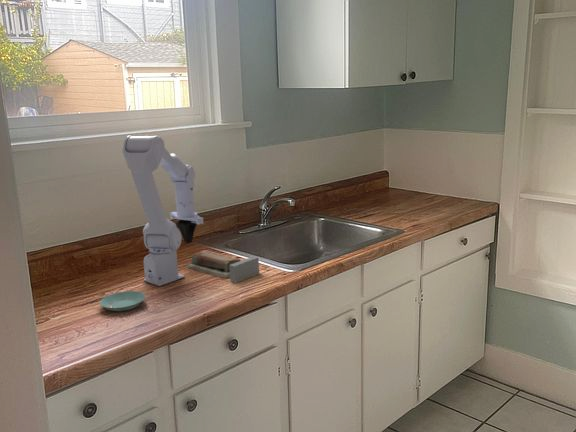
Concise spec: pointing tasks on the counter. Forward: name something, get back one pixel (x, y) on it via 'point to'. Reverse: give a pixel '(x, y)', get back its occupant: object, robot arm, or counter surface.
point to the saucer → (123, 300)
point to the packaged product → (212, 263)
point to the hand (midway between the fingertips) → (188, 242)
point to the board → (244, 269)
